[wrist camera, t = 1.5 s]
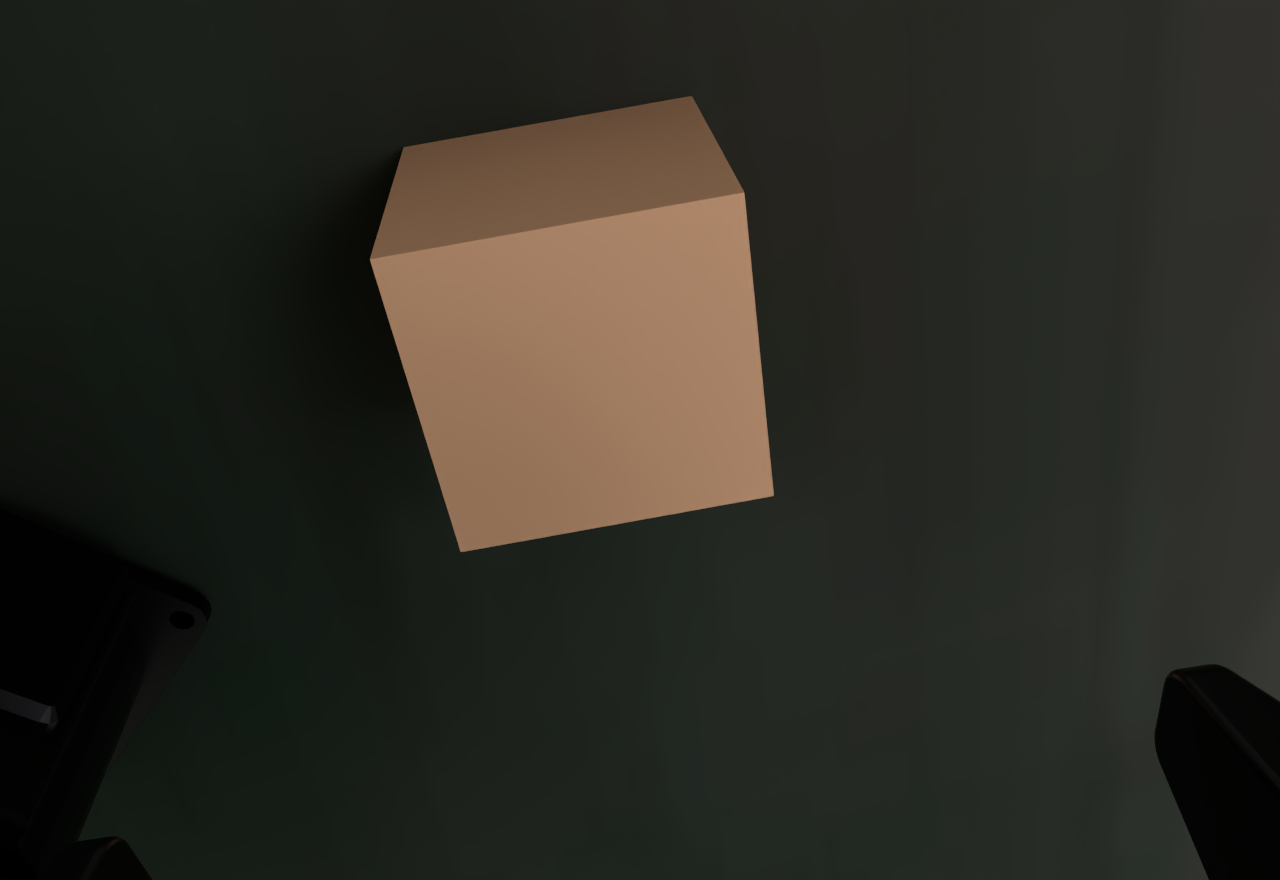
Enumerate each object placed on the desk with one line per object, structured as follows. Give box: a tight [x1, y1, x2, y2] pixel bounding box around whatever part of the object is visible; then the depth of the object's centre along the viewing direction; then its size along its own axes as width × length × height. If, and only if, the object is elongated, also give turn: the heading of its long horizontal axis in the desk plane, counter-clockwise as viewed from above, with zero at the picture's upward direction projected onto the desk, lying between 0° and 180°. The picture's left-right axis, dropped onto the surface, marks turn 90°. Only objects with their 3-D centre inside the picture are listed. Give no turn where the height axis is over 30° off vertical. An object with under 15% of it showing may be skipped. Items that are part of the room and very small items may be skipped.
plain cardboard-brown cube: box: [370, 96, 774, 552], centre depth 17 cm, size 5×5×5 cm
